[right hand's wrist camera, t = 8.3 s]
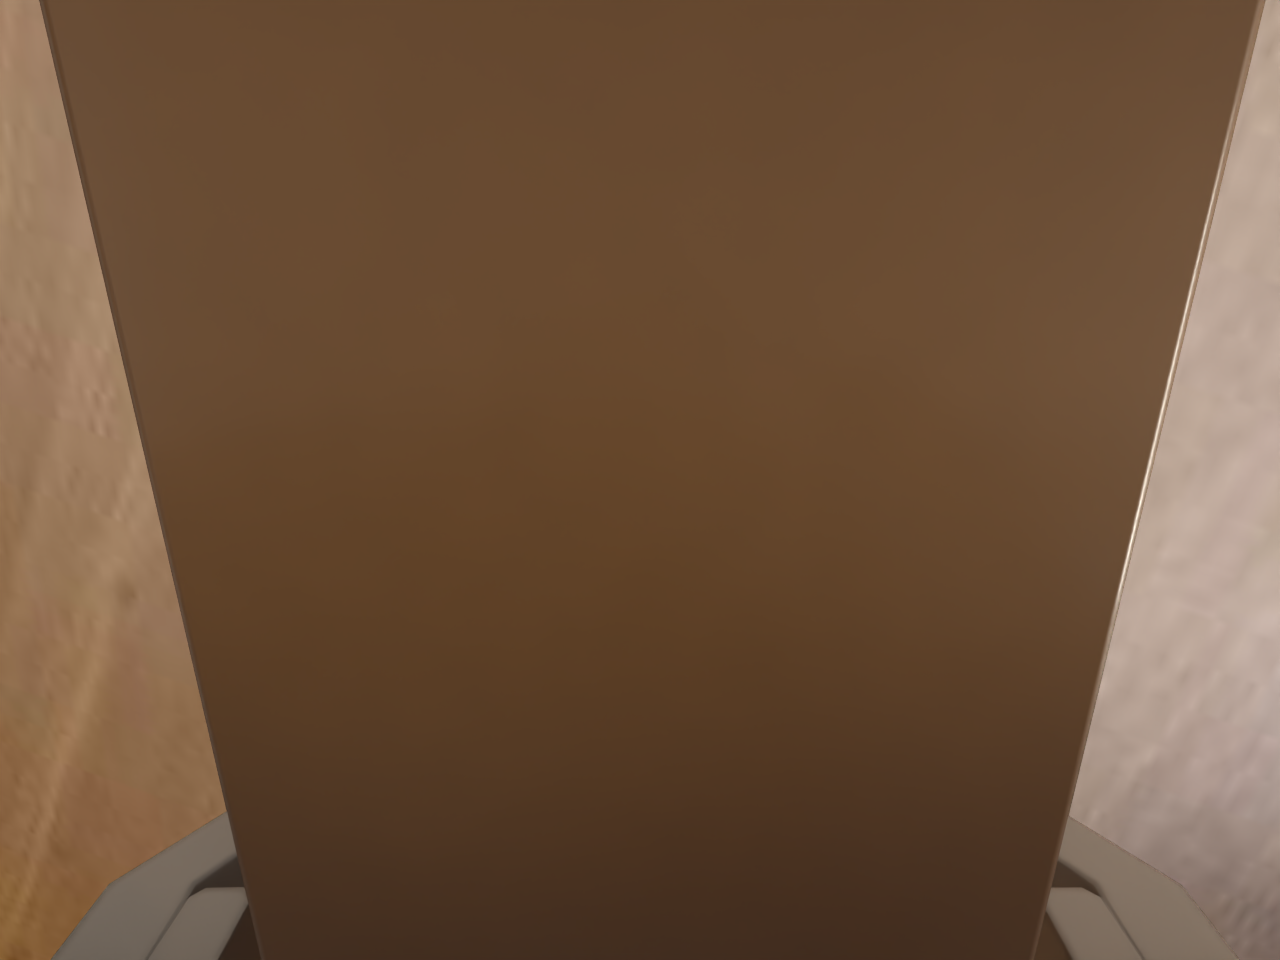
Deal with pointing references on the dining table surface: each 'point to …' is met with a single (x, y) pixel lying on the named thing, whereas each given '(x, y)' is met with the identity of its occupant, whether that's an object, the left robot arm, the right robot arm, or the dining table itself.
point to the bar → (650, 443)
